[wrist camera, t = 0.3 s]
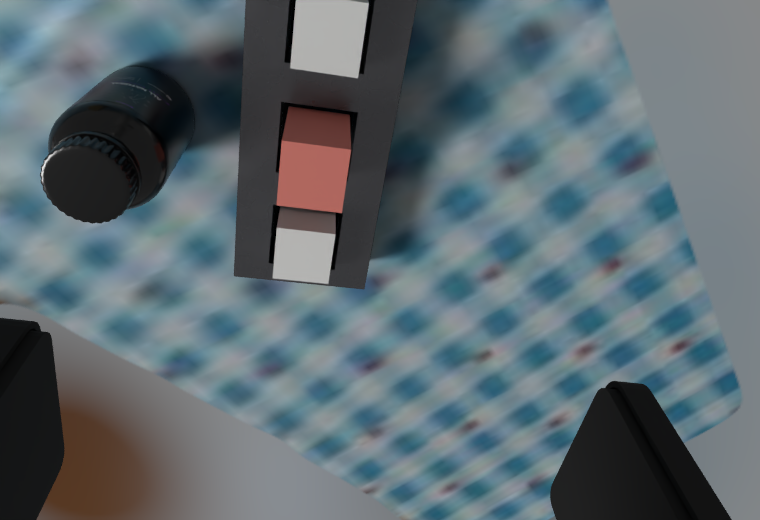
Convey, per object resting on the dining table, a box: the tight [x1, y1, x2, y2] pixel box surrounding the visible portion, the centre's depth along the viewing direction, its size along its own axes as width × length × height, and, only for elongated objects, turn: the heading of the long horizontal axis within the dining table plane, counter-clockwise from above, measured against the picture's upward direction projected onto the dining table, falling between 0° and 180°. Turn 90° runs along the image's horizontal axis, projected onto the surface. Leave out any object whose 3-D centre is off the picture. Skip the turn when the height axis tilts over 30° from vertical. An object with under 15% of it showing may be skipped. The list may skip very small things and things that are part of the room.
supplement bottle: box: [40, 66, 195, 223], centre depth 38 cm, size 7×7×12 cm
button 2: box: [277, 106, 351, 213], centre depth 39 cm, size 4×4×6 cm
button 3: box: [273, 206, 336, 284], centre depth 45 cm, size 4×4×6 cm
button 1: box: [290, 0, 369, 78], centre depth 37 cm, size 4×4×6 cm
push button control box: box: [234, 0, 417, 289], centre depth 41 cm, size 27×10×4 cm, turn 171°
